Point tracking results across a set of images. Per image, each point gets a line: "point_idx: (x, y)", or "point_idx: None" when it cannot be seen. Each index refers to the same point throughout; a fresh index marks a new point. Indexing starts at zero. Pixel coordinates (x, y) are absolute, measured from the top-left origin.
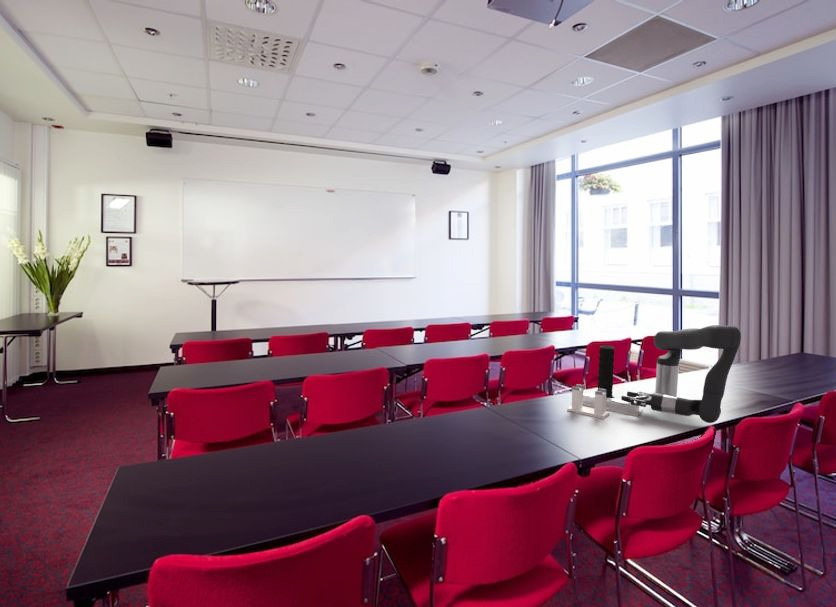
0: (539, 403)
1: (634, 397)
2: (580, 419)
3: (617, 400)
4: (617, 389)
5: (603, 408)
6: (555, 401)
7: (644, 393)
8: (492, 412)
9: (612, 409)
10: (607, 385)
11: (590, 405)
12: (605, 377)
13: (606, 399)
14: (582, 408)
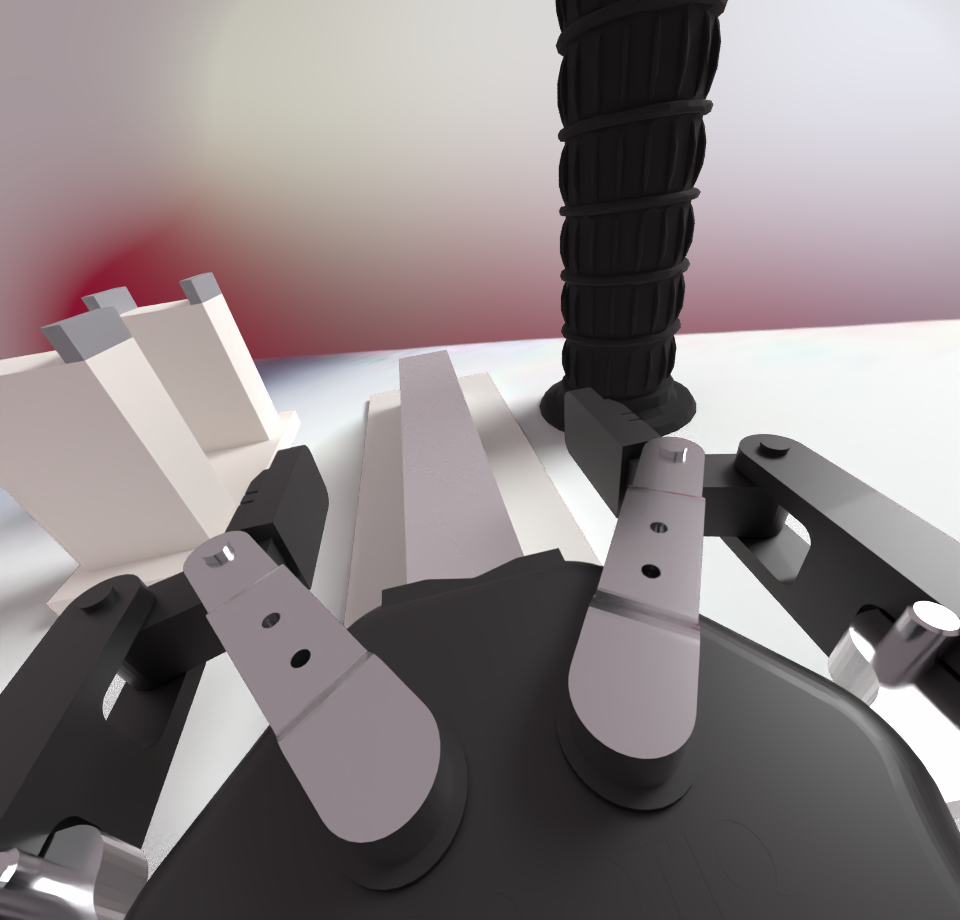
0: (274, 375)
1: (261, 567)
2: (28, 538)
3: (442, 467)
4: (876, 350)
5: (119, 522)
6: (343, 376)
7: (822, 518)
8: None
9: (380, 532)
10: (589, 302)
11: (371, 439)
12: (578, 220)
13: (401, 427)
14: (231, 453)
